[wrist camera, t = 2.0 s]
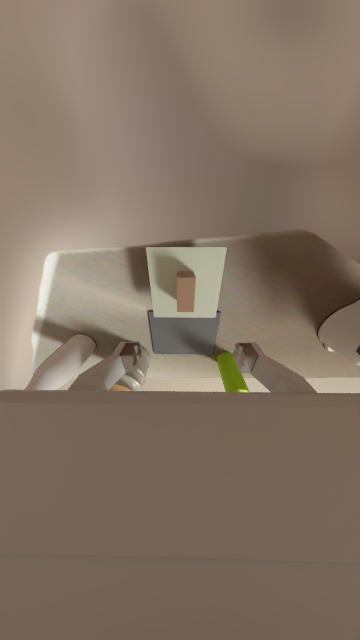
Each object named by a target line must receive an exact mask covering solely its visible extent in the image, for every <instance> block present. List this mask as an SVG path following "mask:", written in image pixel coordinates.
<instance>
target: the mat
mask: <svg viewBox="0 0 360 640" xmlns="http://www.w3.org/2000/svg"><path fill="white" fill-rule="evenodd" d="M149 319H150V326H151V333H152V341H153V348H154V354H211V355H213V352H214V347H215V341H216V335H217V330H218V324H219V319H220V312H216V318H180V317H154V312H153V311H149Z"/></svg>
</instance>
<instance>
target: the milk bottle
mask: <svg viewBox="0 0 360 640" xmlns="http://www.w3.org/2000/svg"><path fill="white" fill-rule="evenodd" d="M95 348H96V344H95V342H94V340H93V339H92V338H90V337H89V336H86V335H83V334H77V335H74V336H73V337H71V338H70V339H69V340H68V341H67V342H65V343H64V344H63V345H62V346H61V347H60V348H58V349H57V350H56V351H55V352H54V353H53V354H52V355H50V356H49V357H48V358H47V359H46V360H45V361H44V362H43V363H42V364H41V365H40V366H39V367H38V368H37V369H36V371H35V372H34V374H33V377H32V379H31V381H30V383H29V384H28V386H27V387H26V389H25V390H56V389H57V388H59V387H61V386H62V385H64V384H65V383H66V382H67V381H69V380H70V379H71V378H72V376H73V375H74V374H75V373H76V372H77V371H78V370H79V368H80V367H81V366H82V365H83V364H84V362H85V361H86V360H87V359H88V357H89V356H90V355H91V354H92V353H93V351H94V350H95Z"/></svg>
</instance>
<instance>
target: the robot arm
mask: <svg viewBox="0 0 360 640" xmlns="http://www.w3.org/2000/svg"><path fill="white" fill-rule="evenodd" d="M318 337H319V339H320V341H321V342H323V343H324V346H325V349H326V350H328V351H335V352H337V353H338V354H340V355H342V356H343V357H345V358H346V359H348V360H350V361H351V362H353V363H355V364H356V365H359V366H360V300H358V301H357V302H355V303H353V304H351V305H349V306H346V307H344V308H342V309H340V310H338V311H337V312H335V313H334V314H332V315H331V316H330V317H329V318H328V319H327V320H326V321H325V322H324V323H323V324H322V326H321V327H320V329H319V333H318ZM235 347H236V349H235V350H234V352H233V357H234V360H235V362H236V363H238V364H237V367H238V369H239V372H240V373H251V374H252V375H253V376H254V377H255V378H256V379H257V380H258V381H259V382H260V383H262V384H263V385H264V386H265V387H266V388H267V389H268V390H269V391H270V392H271V393H266V392H265V393H263V392H175V391H108V390H109V389H110V388H111V387H112V386H113V385H114V384H115V383H116V382H117V381H118V380H119V379H120V378H121V377H122V376H123V375H124V374H125V373H126V372H136V371H137V368H138V366H139V364H138V362H139V361H140V360H141V355H142V352H141V349H140V343H139V342H120V343H119V345H118V346H117V348H116V349H115V351H114V353H113V354H112V356H108V357H107V358H105V359H104V360H102V361H101V362H99V363H97V364H96V365H94V366H93V367H91V368H89V369H88V370H86V371H85V372H83V373H82V374H80V375H79V376H78V377H77V379H76V380H75V381H74V382H73V384H72V385H71V386H70V388H69V389H68V390H3V391H0V640H360V393H356V394H355V393H353V394H351V393H317V392H316V391H315V390H314V389H313V388H312V387H311V385H310V384H309V383H308V382H307V381H306V380H305V379H304V377H302V376H300V375H299V374H297V373H295V372H294V371H292V370H290V369H288V368H287V367H285V366H283V365H282V364H280V363H278V362H277V361H275V360H273V359H271V358H270V357H267V356H266V355H265V354H264V352H263V351H262V350H261V348H260V347H259V346H258V344H257V343H236V345H235Z"/></svg>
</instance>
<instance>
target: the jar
mask: <svg viewBox="0 0 360 640" xmlns="http://www.w3.org/2000/svg"><path fill="white" fill-rule="evenodd" d="M140 349H141V352H142V355H141V360H140V361H139V362H138V364H139V366H138V368H137V371H136V372H126V373H125V374H124V375H123V376H122V377H121V378H120V379H119V380H118V381H117V382H116V383H115V384H114V385H113V386H112V387H111V388H110V389H109V390H108V391H142V386H143V384H144V383H145V377H146V374H147V370H148V368H149V365H150V355H149V353H148V352H147V350H146V349H144V348H143V347H141V346H140ZM114 351H115V350H114ZM114 351H113V353H114ZM113 353H112V354H113ZM112 354H111V356H112Z"/></svg>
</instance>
